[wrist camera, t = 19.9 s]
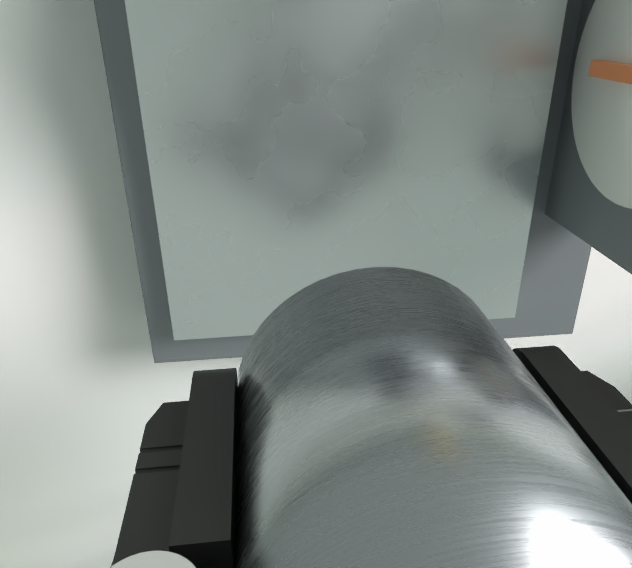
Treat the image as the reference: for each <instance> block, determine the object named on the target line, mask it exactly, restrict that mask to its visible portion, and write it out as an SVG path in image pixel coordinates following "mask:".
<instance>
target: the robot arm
mask: <svg viewBox="0 0 632 568" xmlns="http://www.w3.org/2000/svg"><path fill="white" fill-rule="evenodd" d="M513 352H514V353H515V354H516V356H517V357H518V358H519V359H520V361H521V362H522V363H523V365H524V366H525V367H526V368H527V370H528V371H529V372H530V374H531V375H532V376H533V377H534V379H535V380H536V381H537V383H538V384H539V385H540V386H541V388H542V389H543V390H544V392H545V393H546V394H547V395H548V397H549V398H550V399H551V401H552V402H553V403H554V405H555V406H556V407H557V408H558V410H559V411H560V412H561V414H562V415H563V416H564V417H565V419H566V420H567V421H568V423H569V424H570V425H571V426H572V428H573V429H574V430H575V432H576V433H577V434H578V435H579V437H580V438H581V439H582V441H583V442H584V443H585V444H586V446H587V447H588V448H589V450H590V451H591V452H592V453H593V455H594V456H595V457H596V459H597V460H598V461H599V462H600V464H601V465H602V466H603V468H604V469H605V470H606V471H607V473H608V474H609V475H610V477H611V478H612V479H613V480H614V482H615V483H616V484H617V486H618V487H619V488H620V489H621V491H622V492H623V493H624V495H625V496H626V497H627V498H628V500H629V501H630V502H631V504H632V404H631V403H630V402H629V401H628V400H627V399H626V398H625V397H624V396H623V395H622V394H621V393H620V392H619V391H618V390H617V389H616V388H615V387H614V386H612V385H610V384H609V383H607V382H605V381H604V380H602V379H600V378H599V377H597V376H595V375H593V374H592V373H590V372H588V371H580V370H579V369H578V368H577V367H576V366H575V365H574V364H573V362H572V361H571V360H570V359H569V358H568V357H567V356H566V355H565V354H564V353H563V352H562V350H560V349H559V348H558V347H556V346H544V347H530V348H516V349H513ZM237 420H238V379H237V371H236V368H230V369H216V370H202V371H194V372H193V377H192V384H191V391H190V398H189V401H181V402H168V403H163V404H162V405H161V406H160V408H159V409H158V410H157V411H156V413H155V414H154V415H153V416H152V417H151V419H150V420H149V421H148V422H147V424H146V426H145V430H144V434H143V439H142V443H141V447H140V453H139V455H138V460H137V464H136V468H135V474H134V476H133V481H132V485H131V489H130V493H129V497H128V502H127V506H126V510H125V514H124V518H123V523H122V527H121V531H120V535H119V540H118V544H117V548H116V552H115V556H114V559H113V562H112V565H111V567H110V568H235V526H236V473H237Z"/></svg>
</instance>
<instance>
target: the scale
mask: <svg viewBox="0 0 632 568" xmlns="http://www.w3.org/2000/svg"><path fill="white" fill-rule="evenodd" d="M94 3H95V9H96V15H97V21H98V27H99V33H100V39H101V45H102V51H103V57H104V63H105V69H106V75H107V81H108V87H109V93H110V99H111V105H112V111H113V117H114V123H115V129H116V135H117V141H118V147H119V153H120V159H121V165H122V171H123V177H124V183H125V189H126V195H127V201H128V207H129V213H130V219H131V225H132V231H133V237H134V243H135V249H136V255H137V261H138V267H139V273H140V279H141V285H142V291H143V297H144V303H145V309H146V315H147V321H148V327H149V333H150V339H151V345H152V351H153V357H154V363H162V362H176V361H190V360H204V359H218V358H232V357H243V355H244V352H245V350H246V348H247V346H248V344H249V342H250V340H251V338H252V337H253V335H254V334H255V332H256V331H257V329H258V328H259V326H260V325H261V324H262V323H263V321H264V320H265V319H266V318H267V317H268V316H269V315H270V314H271V313H272V311H274V310H275V309H276V308H277V307H278V306H279V305H280V304H282V303H283V302H284V301H285V300H286V299H288V298H289V297H291V296H292V295H294V294H295V293H297V292H298V291H300V290H301V289H303V288H305V287H307V286H309V285H311V284H313V283H315V282H317V281H319V280H321V279H324V278H327V277H329V276H332V275H335V274H338V273H342V272H346V271H350V270H355V269H362V268H370V267H398V268H405V269H413V270H416V271H420V272H424V273H428V274H431V275H433V276H436V277H438V278H440V279H443V280H445V281H447V282H448V283H450V284H452V285H453V286H455V287H457V288H458V289H460V290H461V291H462V292H463V293H465V294H466V295H467V296H468V297H470V298H471V299H472V300H473V301H474V303H475V304H476V305H477V306H478V307H479V308H480V309H481V311H482V312H483V313H484V314H485V316H486V317H487V318H488V320H489V321H490V322H491V323H492V325H493V326H494V327H495V329H496V330H497V331H498V332H499V334H500V335H501V336H502V338H516V337H530V336H544V335H558V334H572V333H573V328H574V323H575V319H576V314H577V310H578V305H579V301H580V296H581V292H582V287H583V283H584V278H585V274H586V269H587V264H588V260H589V255H590V251H591V246H592V247H593V248H595V249H596V250H597V251H599V252H600V253H602V254H603V255H605V256H606V257H608V258H609V259H610V260H612V261H613V262H615V263H616V264H618V265H619V266H621V267H622V268H624V269H625V270H626V271H628V272H629V273H631V274H632V0H94Z"/></svg>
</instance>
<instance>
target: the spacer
mask: <svg viewBox="0 0 632 568" xmlns="http://www.w3.org/2000/svg"><path fill="white" fill-rule="evenodd" d="M235 568H632V504H631V502H630V501H629V500H628V498H627V497H626V496H625V495H624V493H623V492H622V491H621V489H620V488H619V487H618V486H617V484H616V483H615V482H614V480H613V479H612V478H611V477H610V475H609V474H608V473H607V471H606V470H605V469H604V468H603V466H602V465H601V464H600V462H599V461H598V460H597V459H596V457H595V456H594V455H593V453H592V452H591V451H590V450H589V448H588V447H587V446H586V444H585V443H584V442H583V441H582V439H581V438H580V437H579V435H578V434H577V433H576V432H575V430H574V429H573V428H572V426H571V425H570V424H569V423H568V421H567V420H566V419H565V417H564V416H563V415H562V414H561V412H560V411H559V410H558V408H557V407H556V406H555V405H554V403H553V402H552V401H551V399H550V398H549V397H548V395H547V394H546V393H545V392H544V390H543V389H542V388H541V386H540V385H539V384H538V383H537V381H536V380H535V379H534V377H533V376H532V375H531V374H530V372H529V371H528V370H527V368H526V367H525V366H524V365H523V363H522V362H521V361H520V359H519V358H518V357H517V356H516V354H515V353H514V352H513V350H512V349H511V348H510V347H509V345H508V344H507V343H506V341H505V340H504V339H503V338H502V336H501V335H500V334H499V332H498V331H497V330H496V329H495V327H494V326H493V325H492V323H491V322H490V321H489V320H488V318H487V317H486V316H485V314H484V313H483V312H482V311H481V309H480V308H479V307H478V306H477V305H476V304H475V303H474V301H473V300H472V299H471V298H470V297H468V296H467V295H466V294H465V293H463V292H462V291H461V290H460V289H458V288H457V287H455V286H453V285H452V284H450V283H448V282H447V281H445V280H443V279H440V278H438V277H436V276H433V275H431V274H428V273H424V272H420V271H416V270H413V269H405V268H398V267H370V268H362V269H355V270H350V271H346V272H342V273H338V274H335V275H332V276H329V277H327V278H324V279H321V280H319V281H317V282H315V283H313V284H311V285H309V286H307V287H305V288H303V289H301V290H300V291H298V292H297V293H295V294H294V295H292V296H291V297H289V298H288V299H286V300H285V301H284V302H283V303H282V304H280V305H279V306H278V307H277V308H276V309H275V310H274V311H272V313H271V314H270V315H269V316H268V317H267V318H266V319H265V320H264V321H263V323H262V324H261V325H260V326H259V328H258V329H257V331H256V332H255V334H254V335H253V337H252V338H251V340H250V342H249V344H248V346H247V348H246V350H245V352H244V355H243V358H242V361H241V365H240V368H239V374H238V420H237V473H236V526H235Z"/></svg>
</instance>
